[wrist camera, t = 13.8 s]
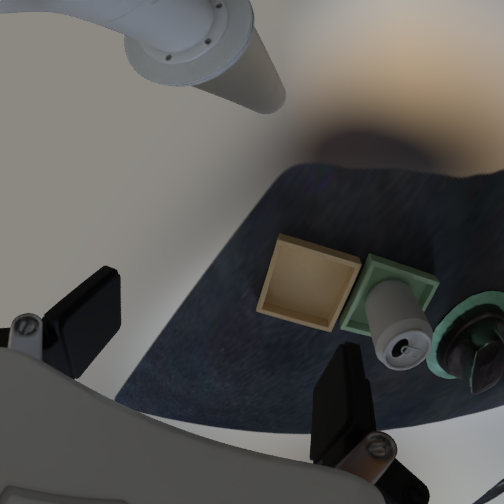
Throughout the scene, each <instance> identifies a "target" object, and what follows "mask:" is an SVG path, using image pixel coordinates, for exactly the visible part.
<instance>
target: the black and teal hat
mask: <svg viewBox="0 0 504 504" xmlns="http://www.w3.org/2000/svg"><path fill="white" fill-rule="evenodd" d="M426 360H427V365H428V367H429V369H430V370H431V371H432V372H433V373H434V374H435V375H437V376H439V377H442V378H449V379H453V378H459V379H461V380H463V381H465V382H466V383H468V385H469V386H470V388H471V393H472V394H473V395H475V394H478V393H481V392H484V391H486V390H488V389H490V388H491V387H493V386H494V385H495V384H496V383H497V382H498V381H499V380H500V378H501V377H502V376H503V374H504V293H502V292H499V291H486V292H483V293H480V294H476V295H473V296H471V297H469V298H467V299H466V300H465V301H463V302H462V303H460V304H458V305H457V306H456V307H455V308H454V309H453V310H452V311H451V312H450V313H449V314H448V315H447V316H446V317H445V318H444V319H443V320H442V322H441V323H440V324H439V325H438V326H437V327H436V329H435V331H434V333H433V338H432V346H431V350H430V352H429V354H428V356H427V357H426Z"/></svg>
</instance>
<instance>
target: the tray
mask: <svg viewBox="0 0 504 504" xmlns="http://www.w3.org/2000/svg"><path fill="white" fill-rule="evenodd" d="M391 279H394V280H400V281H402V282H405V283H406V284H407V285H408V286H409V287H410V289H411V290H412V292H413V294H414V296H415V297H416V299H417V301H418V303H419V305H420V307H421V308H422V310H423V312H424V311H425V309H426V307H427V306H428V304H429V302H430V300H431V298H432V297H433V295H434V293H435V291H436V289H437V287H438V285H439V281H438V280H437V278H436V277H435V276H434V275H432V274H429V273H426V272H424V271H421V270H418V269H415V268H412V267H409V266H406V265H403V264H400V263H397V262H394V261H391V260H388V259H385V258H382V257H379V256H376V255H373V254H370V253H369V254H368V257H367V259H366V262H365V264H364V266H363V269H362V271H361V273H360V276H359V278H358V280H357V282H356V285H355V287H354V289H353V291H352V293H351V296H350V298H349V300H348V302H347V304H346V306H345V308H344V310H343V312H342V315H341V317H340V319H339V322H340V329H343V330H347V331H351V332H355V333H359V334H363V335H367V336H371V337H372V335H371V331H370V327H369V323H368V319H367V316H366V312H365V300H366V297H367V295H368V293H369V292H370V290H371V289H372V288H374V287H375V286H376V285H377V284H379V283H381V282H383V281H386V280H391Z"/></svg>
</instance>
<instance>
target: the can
mask: <svg viewBox="0 0 504 504" xmlns="http://www.w3.org/2000/svg"><path fill="white" fill-rule="evenodd" d="M365 312H366V316H367V319H368V323H369V327H370V331H371V335H372V339H373V343H374V348H375V352H376V355H377V357H378V359H379V360H380V361H381V362H383V363H384V364H385V365H386V366H387V367H388V368H390V369H393V370H406V369H410V368H413V367H415V366H417V365H418V364H420V363H421V362H422V361H423V360H424V359H425V358H426V357H427V356H428V354H429V352H430V350H431V346H432V338H433V331H432V328H431V326H430V324H429V322H428V320H427V318H426V316H425V314H424V312H423V310H422V308H421V307H420V305H419V303H418V301H417V299H416V297H415V296H414V294H413V292H412V290H411V289H410V287H409V286H408V285H407V284H406V283H405V282H402V281H400V280H394V279H391V280H386V281H383V282H381V283H379V284H377V285H376V286H375V287H374V288H372V289H371V290H370V292H369V293H368V295H367V297H366V300H365Z"/></svg>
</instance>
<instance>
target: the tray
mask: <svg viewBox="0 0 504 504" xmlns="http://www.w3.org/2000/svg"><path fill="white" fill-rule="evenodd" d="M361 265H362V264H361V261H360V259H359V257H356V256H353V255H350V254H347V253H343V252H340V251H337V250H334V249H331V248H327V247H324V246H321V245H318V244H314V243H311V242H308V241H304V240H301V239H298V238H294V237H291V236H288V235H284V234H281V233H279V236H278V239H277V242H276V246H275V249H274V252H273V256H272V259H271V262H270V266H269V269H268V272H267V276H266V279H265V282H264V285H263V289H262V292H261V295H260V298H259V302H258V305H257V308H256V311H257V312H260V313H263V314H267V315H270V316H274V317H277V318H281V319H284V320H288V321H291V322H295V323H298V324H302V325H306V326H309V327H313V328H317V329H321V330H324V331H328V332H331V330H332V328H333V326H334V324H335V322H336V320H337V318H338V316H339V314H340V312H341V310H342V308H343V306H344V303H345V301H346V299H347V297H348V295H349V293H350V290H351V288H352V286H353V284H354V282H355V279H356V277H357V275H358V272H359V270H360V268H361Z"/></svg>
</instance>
